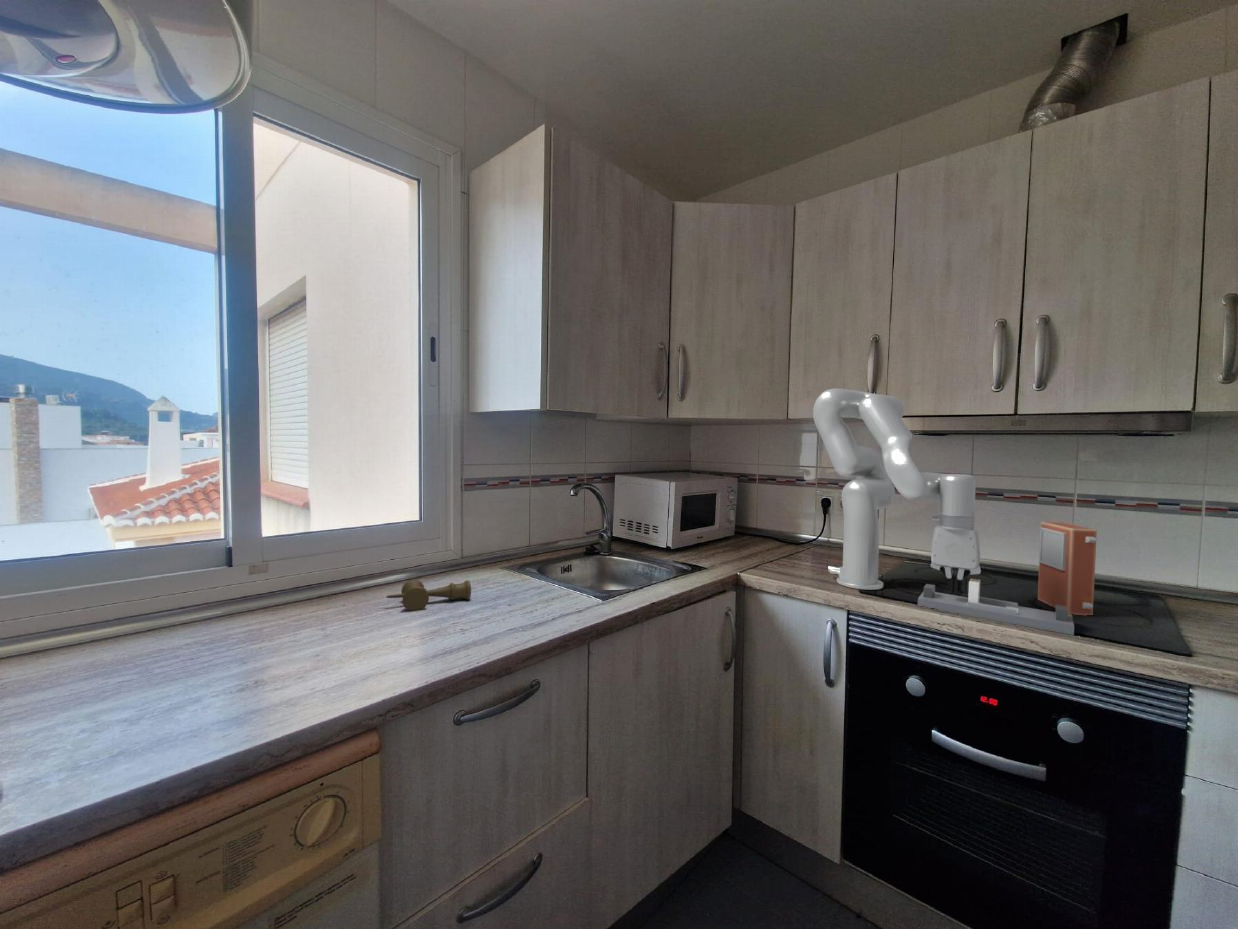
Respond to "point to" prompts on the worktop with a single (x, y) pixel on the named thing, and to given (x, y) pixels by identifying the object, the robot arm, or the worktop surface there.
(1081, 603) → the orange rectangular block
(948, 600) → the strip
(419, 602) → the kendama
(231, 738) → the worktop surface
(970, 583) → the breaker handle
